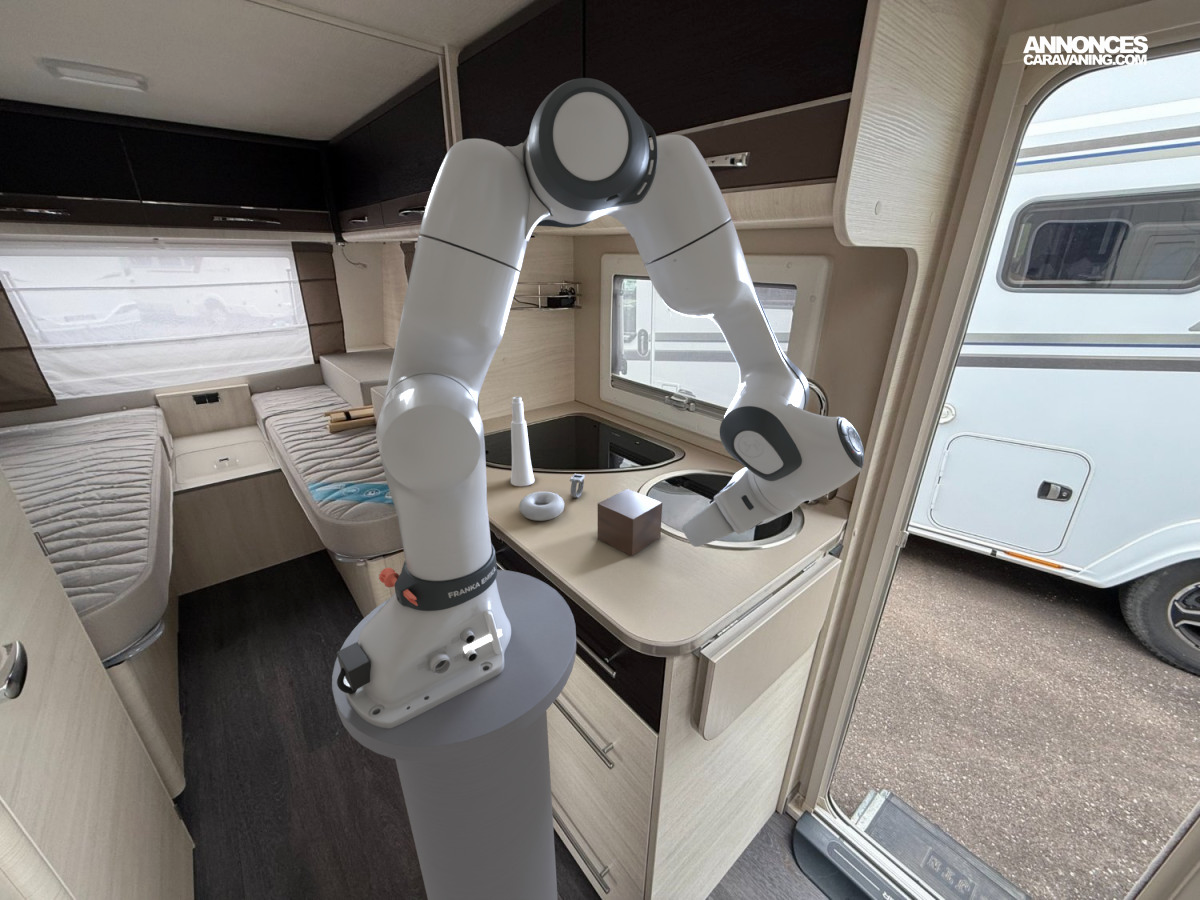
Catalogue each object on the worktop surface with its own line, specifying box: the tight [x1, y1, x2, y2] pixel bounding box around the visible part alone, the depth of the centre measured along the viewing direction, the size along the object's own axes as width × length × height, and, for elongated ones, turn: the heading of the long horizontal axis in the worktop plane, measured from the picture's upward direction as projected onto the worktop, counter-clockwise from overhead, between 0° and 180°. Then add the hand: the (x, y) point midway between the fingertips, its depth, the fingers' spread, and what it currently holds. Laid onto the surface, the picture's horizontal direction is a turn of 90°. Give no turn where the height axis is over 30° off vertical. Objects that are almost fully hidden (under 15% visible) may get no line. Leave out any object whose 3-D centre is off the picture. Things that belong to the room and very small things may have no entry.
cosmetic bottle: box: [510, 396, 535, 487], centre depth 115 cm, size 6×6×22 cm
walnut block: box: [597, 488, 663, 557], centre depth 93 cm, size 9×9×8 cm
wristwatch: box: [569, 473, 586, 499], centre depth 111 cm, size 6×3×5 cm, turn 164°
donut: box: [518, 490, 565, 522], centre depth 103 cm, size 10×4×10 cm
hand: (699, 525), depth 81 cm, fingers closed
